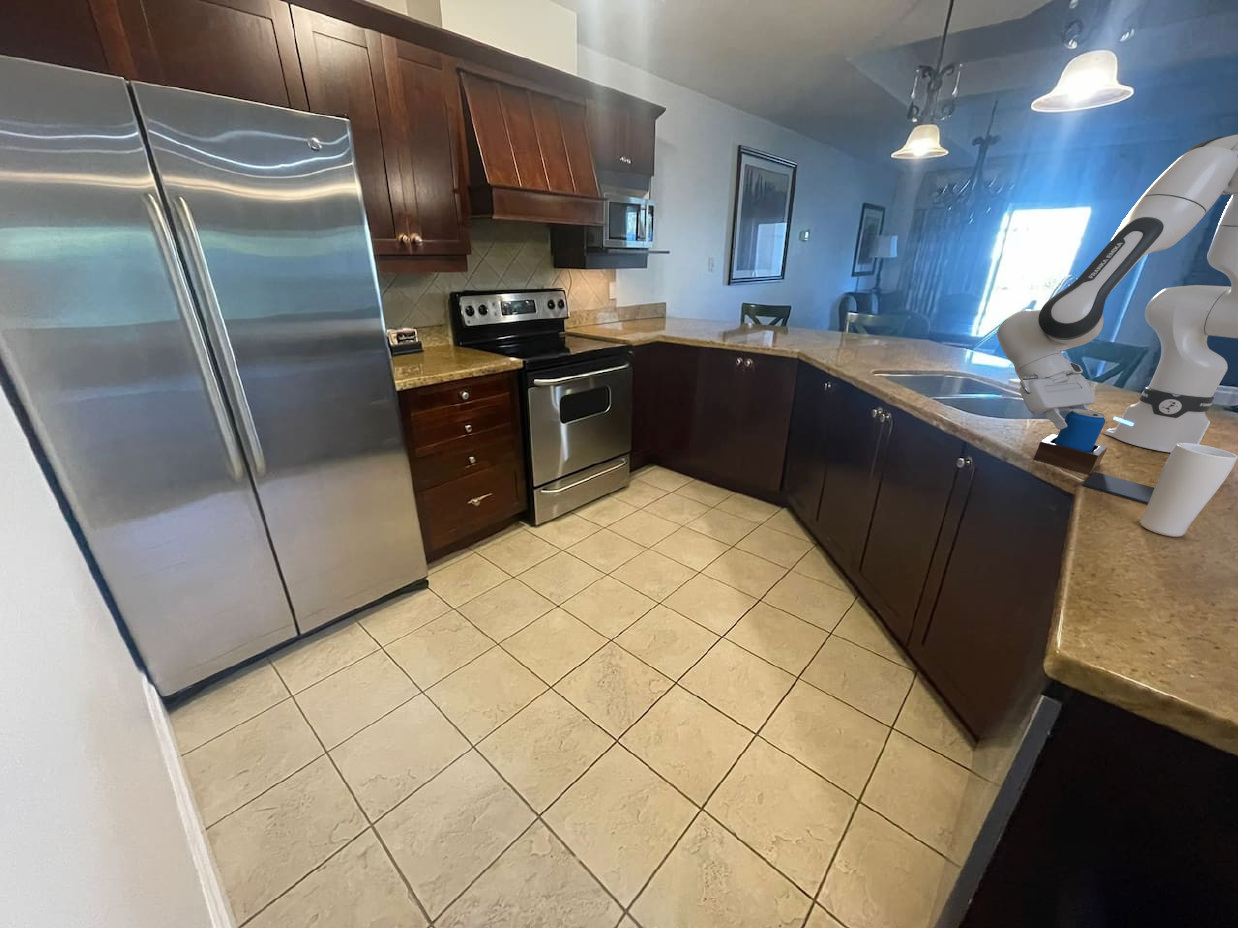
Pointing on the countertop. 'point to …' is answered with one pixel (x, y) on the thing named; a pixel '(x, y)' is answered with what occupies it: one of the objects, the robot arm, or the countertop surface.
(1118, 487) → the coaster
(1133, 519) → the countertop surface
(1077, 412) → the beverage can
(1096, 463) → the box
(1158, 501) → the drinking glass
